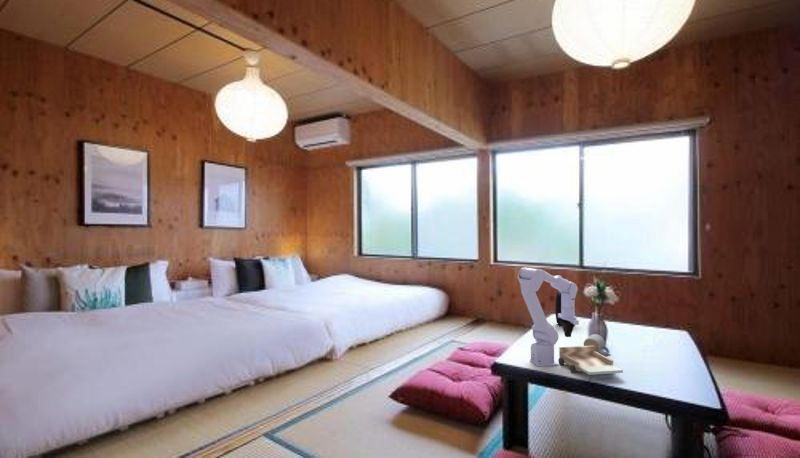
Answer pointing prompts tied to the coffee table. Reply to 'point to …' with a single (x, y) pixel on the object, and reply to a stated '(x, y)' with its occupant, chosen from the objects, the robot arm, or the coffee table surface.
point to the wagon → (581, 357)
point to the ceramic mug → (597, 343)
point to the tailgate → (601, 369)
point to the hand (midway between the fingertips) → (567, 336)
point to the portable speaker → (558, 307)
